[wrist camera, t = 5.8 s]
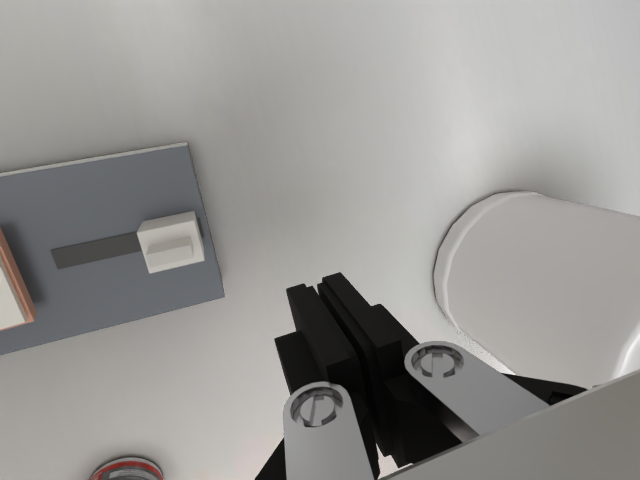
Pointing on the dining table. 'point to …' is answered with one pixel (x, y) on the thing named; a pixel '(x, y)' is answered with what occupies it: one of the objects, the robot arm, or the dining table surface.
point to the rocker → (13, 292)
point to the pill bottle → (128, 470)
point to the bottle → (545, 286)
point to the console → (100, 241)
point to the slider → (171, 241)
